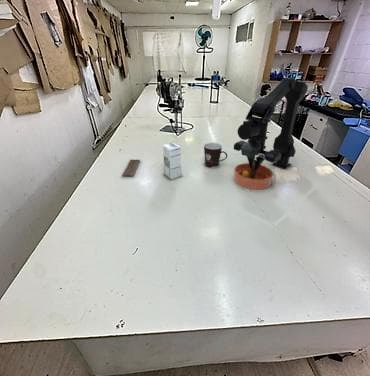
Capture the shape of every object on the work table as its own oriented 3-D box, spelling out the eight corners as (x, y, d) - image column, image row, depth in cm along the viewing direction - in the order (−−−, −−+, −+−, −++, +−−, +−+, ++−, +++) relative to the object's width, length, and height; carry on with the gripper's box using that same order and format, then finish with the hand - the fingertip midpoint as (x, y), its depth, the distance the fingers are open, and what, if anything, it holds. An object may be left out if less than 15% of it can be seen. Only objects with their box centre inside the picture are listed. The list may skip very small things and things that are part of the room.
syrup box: (181, 176, 105) (181, 146, 99) (170, 179, 102) (169, 148, 96) (174, 171, 109) (174, 142, 103) (163, 174, 106) (162, 144, 100)
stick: (251, 178, 102) (254, 159, 99) (255, 179, 101) (258, 160, 97) (248, 179, 101) (251, 160, 98) (252, 181, 100) (255, 162, 96)
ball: (244, 174, 106) (245, 168, 104) (250, 177, 104) (250, 171, 102) (240, 177, 104) (241, 171, 102) (246, 179, 102) (246, 173, 100)
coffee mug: (199, 162, 118) (200, 144, 114) (214, 160, 121) (215, 141, 117) (211, 172, 108) (213, 152, 104) (227, 169, 112) (229, 149, 108)
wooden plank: (133, 174, 103) (122, 173, 103) (133, 177, 104) (122, 176, 104) (139, 159, 119) (130, 159, 118) (140, 162, 119) (130, 161, 119)
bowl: (246, 169, 112) (247, 160, 110) (277, 182, 101) (279, 171, 99) (226, 180, 102) (227, 170, 100) (258, 195, 91) (260, 184, 89)
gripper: (227, 132, 94) (224, 167, 100) (270, 145, 82) (263, 184, 88) (243, 127, 101) (239, 160, 107) (285, 138, 89) (278, 175, 95)
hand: (253, 169), depth 99 cm, fingers closed on stick, 2 cm apart
